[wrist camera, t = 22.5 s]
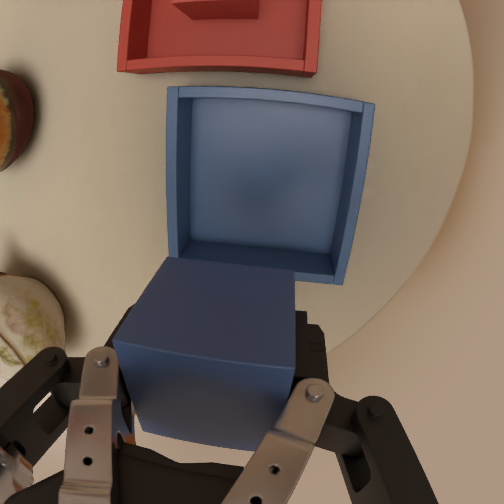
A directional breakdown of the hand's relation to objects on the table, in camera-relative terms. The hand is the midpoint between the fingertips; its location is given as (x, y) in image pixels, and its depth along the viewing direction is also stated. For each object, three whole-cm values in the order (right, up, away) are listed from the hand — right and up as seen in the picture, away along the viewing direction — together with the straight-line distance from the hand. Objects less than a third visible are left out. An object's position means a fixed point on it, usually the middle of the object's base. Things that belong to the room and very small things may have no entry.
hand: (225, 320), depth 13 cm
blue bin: (+2, +9, +12) cm, 15 cm away
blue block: (0, 0, 0) cm, 0 cm away
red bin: (-1, +23, +5) cm, 23 cm away
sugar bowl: (-27, -4, +22) cm, 35 cm away
